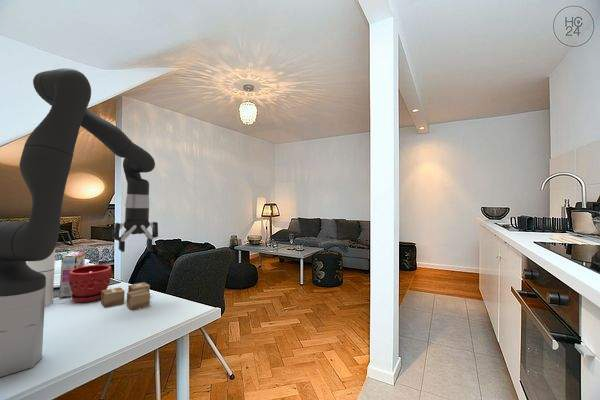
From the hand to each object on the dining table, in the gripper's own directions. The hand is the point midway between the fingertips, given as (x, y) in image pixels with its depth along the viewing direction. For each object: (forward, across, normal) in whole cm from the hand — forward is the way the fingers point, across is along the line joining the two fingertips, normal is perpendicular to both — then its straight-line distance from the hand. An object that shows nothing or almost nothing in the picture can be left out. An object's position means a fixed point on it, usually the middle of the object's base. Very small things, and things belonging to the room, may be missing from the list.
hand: (135, 250), depth 98 cm
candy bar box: (+21, -13, +32) cm, 41 cm away
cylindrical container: (+21, -24, +24) cm, 40 cm away
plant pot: (+21, -10, +20) cm, 30 cm away
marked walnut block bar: (+21, -5, +8) cm, 23 cm away
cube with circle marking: (+21, +4, +9) cm, 23 cm away
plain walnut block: (+21, +1, -1) cm, 21 cm away
